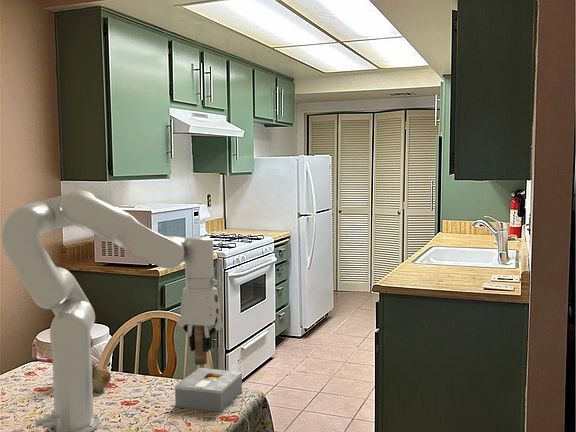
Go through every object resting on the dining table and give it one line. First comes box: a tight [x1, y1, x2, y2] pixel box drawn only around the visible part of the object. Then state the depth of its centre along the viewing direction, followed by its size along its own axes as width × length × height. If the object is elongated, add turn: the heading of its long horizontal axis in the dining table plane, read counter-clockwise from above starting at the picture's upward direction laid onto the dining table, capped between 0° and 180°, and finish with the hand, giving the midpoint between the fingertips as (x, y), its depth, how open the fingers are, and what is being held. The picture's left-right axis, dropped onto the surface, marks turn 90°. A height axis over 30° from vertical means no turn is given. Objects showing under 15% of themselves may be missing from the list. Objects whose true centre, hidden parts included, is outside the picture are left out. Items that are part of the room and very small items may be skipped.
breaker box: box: [174, 367, 243, 413], centre depth 172 cm, size 16×14×6 cm
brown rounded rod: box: [194, 325, 208, 366], centre depth 158 cm, size 3×3×12 cm
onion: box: [92, 364, 112, 393], centre depth 179 cm, size 8×8×8 cm
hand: (200, 349), depth 158 cm, fingers closed on brown rounded rod, 3 cm apart
